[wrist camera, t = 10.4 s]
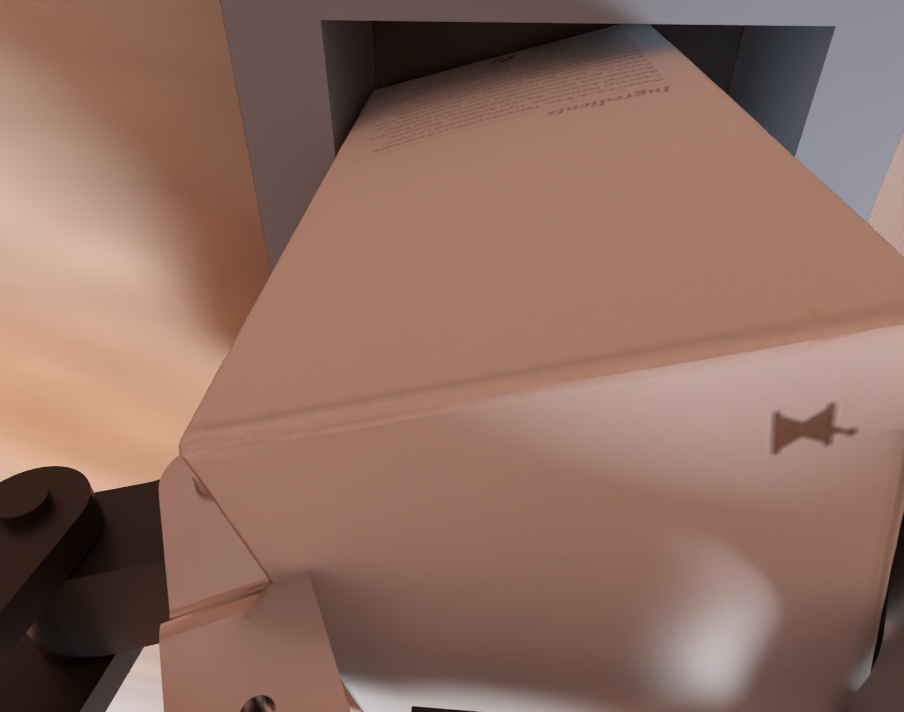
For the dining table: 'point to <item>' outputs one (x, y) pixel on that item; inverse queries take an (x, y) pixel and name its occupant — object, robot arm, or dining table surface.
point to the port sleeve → (693, 3)
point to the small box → (573, 399)
